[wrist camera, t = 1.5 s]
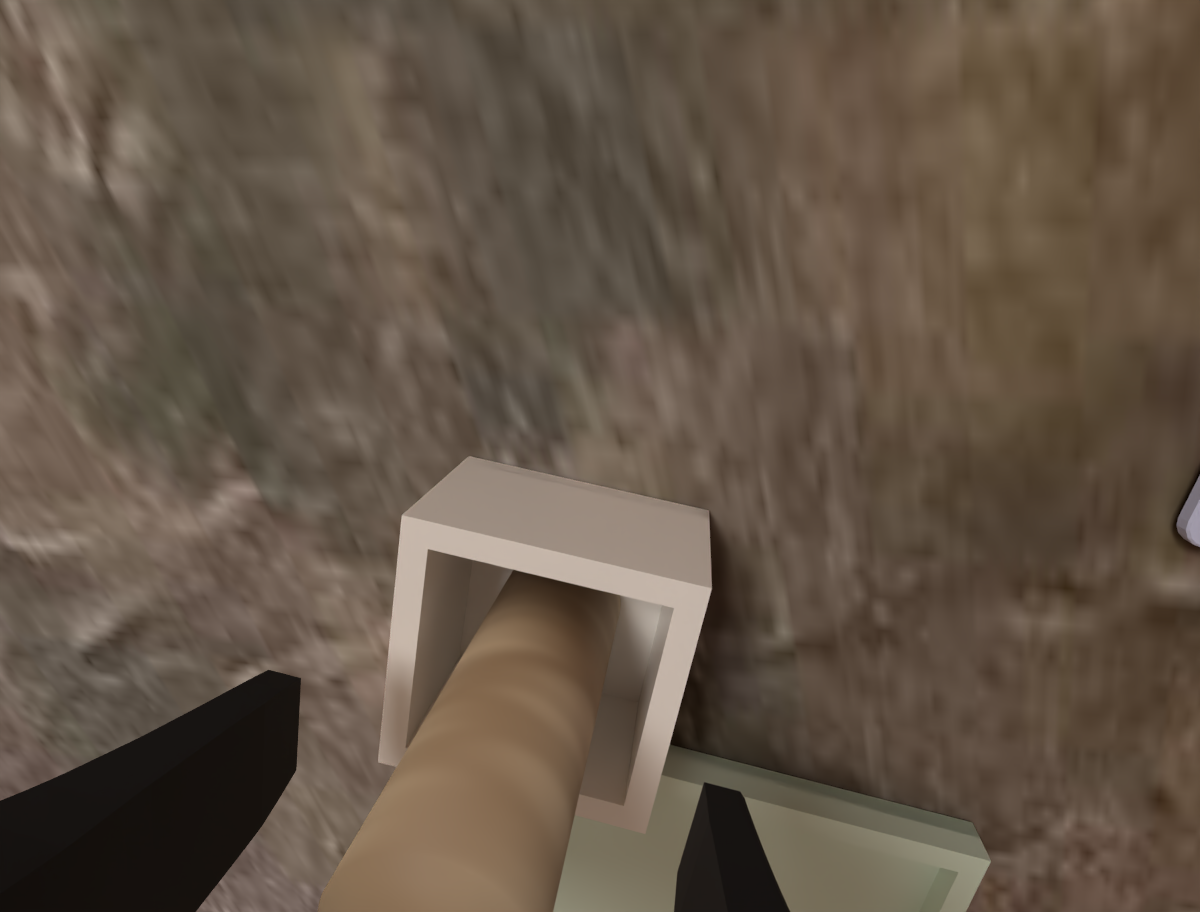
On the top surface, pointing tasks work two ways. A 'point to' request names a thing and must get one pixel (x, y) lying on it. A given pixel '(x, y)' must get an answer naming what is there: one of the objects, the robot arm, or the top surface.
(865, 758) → the top surface
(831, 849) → the tray
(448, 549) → the open box
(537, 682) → the dowel
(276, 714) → the robot arm
